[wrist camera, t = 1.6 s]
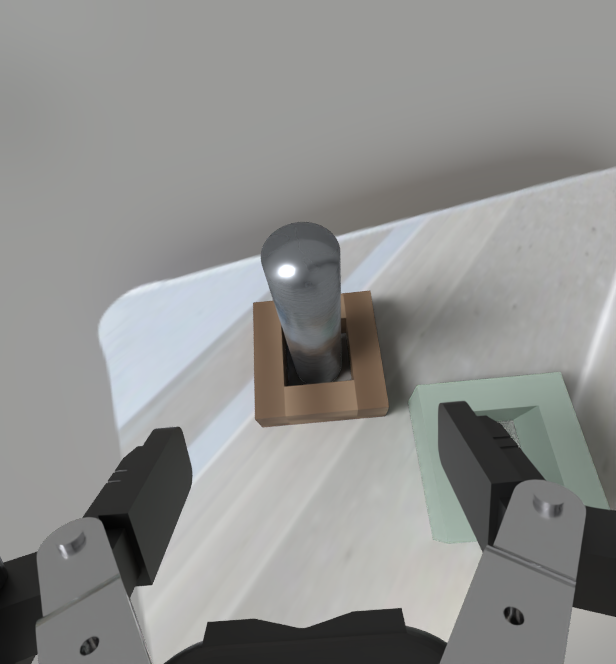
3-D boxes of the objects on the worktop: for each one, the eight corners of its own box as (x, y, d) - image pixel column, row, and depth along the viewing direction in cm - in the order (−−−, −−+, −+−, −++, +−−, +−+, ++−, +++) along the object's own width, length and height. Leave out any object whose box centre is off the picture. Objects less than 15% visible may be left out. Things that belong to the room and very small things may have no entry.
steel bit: (338, 340, 35) (335, 218, 21) (343, 384, 34) (344, 283, 19) (294, 345, 35) (260, 226, 21) (296, 388, 34) (261, 292, 19)
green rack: (532, 390, 32) (560, 371, 28) (577, 528, 28) (617, 530, 24) (407, 401, 32) (417, 385, 28) (433, 539, 28) (448, 543, 24)
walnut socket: (368, 307, 36) (370, 290, 34) (385, 416, 32) (389, 406, 29) (259, 318, 37) (253, 302, 34) (262, 427, 33) (255, 419, 30)
